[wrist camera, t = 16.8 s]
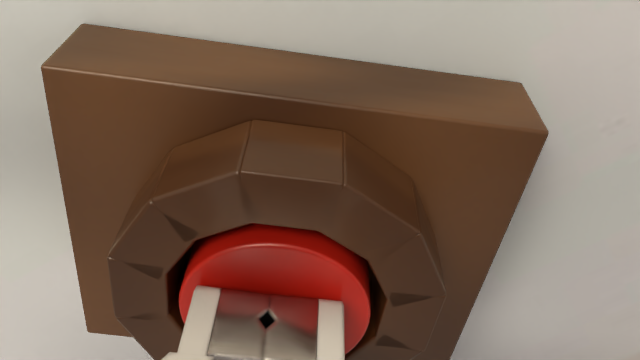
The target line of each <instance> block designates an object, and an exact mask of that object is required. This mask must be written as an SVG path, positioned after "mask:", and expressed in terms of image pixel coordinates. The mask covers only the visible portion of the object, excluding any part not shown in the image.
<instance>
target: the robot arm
mask: <svg viewBox="0 0 640 360" xmlns="http://www.w3.org/2000/svg"><path fill="white" fill-rule="evenodd" d="M161 360H345V343H344V304H343V302H342V301H335V300H325V299H317V298H309V297H299V296H288V295H278V294H263V293H256V292H248V291H241V290H233V289H226V288H216V287H208V286H201V285H197V286H196V288H195V290H194V292H193V296H192V300H191V303H190V307H189V311H188V314H187V318H186V322H185V325H184V329H183V333H182V336H181V340H180V344H179V348H178V351H177V353H176V352H169V353H168V354H167V355H166V356H165V357H164V358H162V359H161Z"/></svg>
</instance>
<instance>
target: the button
mask: <svg viewBox="0 0 640 360" xmlns="http://www.w3.org/2000/svg"><path fill="white" fill-rule="evenodd" d="M197 285H201V286H208V287H216V288H226V289H233V290H241V291H248V292H256V293H263V294H278V295H288V296H299V297H309V298H317V299H325V300H335V301H342V302H343V304H344V343H345V354H347V353H348V352H349V351H351V350H352V349H353V348H354V347H355V346H356V345H357V344H358V343H359V342H360V340H361V339H362V337H363V336H364V334H365V332H366V330H367V328H368V325H369V322H370V316H371V303H370V285H369V267H368V261H367V260H366V259H364V258H362V257H361V256H359V255H357V254H356V253H354V252H352V251H351V250H349V249H347V248H346V247H344V246H342V245H341V244H339V243H337V242H335V241H334V240H332V239H330V238H329V237H327V236H325V235H324V234H322V233H320V232H319V231H313V230H305V229H296V228H288V227H279V226H271V225H262V224H254V223H251V224H248V225H245V226H241V227H238V228H235V229H231V230H228V231H225V232H222V233H218V234H215V235H212V236H208V237H205V238H202V239H199V240H196V241H195V242H194V245H193V249H192V252H191V255H190V259H189V262H188V265H187V269H186V272H185V275H184V279H183V282H182V285H181V289H180V292H179V310H180V314H181V317H182V320H183V322H184V324H185V322H186V318H187V314H188V311H189V307H190V303H191V300H192V296H193V292H194V290H195V288H196V286H197Z"/></svg>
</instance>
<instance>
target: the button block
mask: <svg viewBox="0 0 640 360" xmlns="http://www.w3.org/2000/svg"><path fill="white" fill-rule="evenodd" d="M41 70H42V76H43V82H44V87H45V93H46V99H47V104H48V110H49V116H50V121H51V127H52V133H53V138H54V144H55V150H56V155H57V161H58V167H59V173H60V178H61V184H62V190H63V195H64V201H65V207H66V212H67V218H68V224H69V229H70V235H71V241H72V246H73V252H74V258H75V263H76V269H77V275H78V280H79V286H80V292H81V297H82V303H83V309H84V314H85V320H86V326H87V331H88V332H90V333H99V334H108V335H118V336H127V337H134V338H135V340H136V341H137V342H138V343H139V344H140V345H141V346H142V347H143V348H144V349H145V350H146V351H147V352H148V353H149V355H150V356H151V357H152V358H153V359H154V360H161V359H162V358H164V357H165V356H166V355H167V354H168V353H169V352H176V353H177V351H178V348H179V344H180V340H181V336H182V333H183V329H184V325H185V324H184V322H183V320H182V317H181V314H180V310H179V292H180V289H181V285H182V282H183V279H184V275H185V272H186V269H187V265H188V262H189V259H190V255H191V252H192V249H193V245H194V242H195V241H196V240H199V239H202V238H205V237H208V236H212V235H215V234H218V233H222V232H225V231H228V230H231V229H235V228H238V227H241V226H245V225H248V224H251V223H254V224H262V225H271V226H279V227H288V228H296V229H305V230H313V231H319V232H320V233H322V234H324V235H325V236H327V237H329V238H330V239H332V240H334V241H335V242H337V243H339V244H341V245H342V246H344V247H346V248H347V249H349V250H351V251H352V252H354V253H356V254H357V255H359V256H361V257H362V258H364V259H366V260H367V261H368V267H369V285H370V303H371V316H370V322H369V325H368V328H367V330H366V332H365V334H364V336H363V337H362V339H361V340H360V342H359V343H358V344H357V345H356V346H355V347H354V348H353V349H352V350H351V351H349V352H348V353H347V354H345V360H450V357H451V355H452V353H453V350H454V348H455V346H456V344H457V341H458V339H459V337H460V335H461V332H462V330H463V328H464V325H465V323H466V321H467V319H468V316H469V314H470V312H471V309H472V307H473V305H474V303H475V300H476V298H477V296H478V294H479V291H480V289H481V287H482V284H483V282H484V280H485V278H486V275H487V273H488V271H489V268H490V266H491V264H492V262H493V259H494V257H495V255H496V253H497V250H498V248H499V246H500V243H501V241H502V239H503V237H504V234H505V232H506V230H507V227H508V225H509V223H510V221H511V218H512V216H513V214H514V212H515V209H516V207H517V205H518V202H519V200H520V198H521V196H522V193H523V191H524V189H525V186H526V184H527V182H528V180H529V177H530V175H531V173H532V171H533V168H534V166H535V164H536V161H537V159H538V157H539V155H540V152H541V150H542V148H543V146H544V143H545V141H546V139H547V136H548V130H547V128H546V126H545V124H544V123H543V121H542V119H541V117H540V116H539V114H538V112H537V110H536V108H535V107H534V105H533V103H532V101H531V99H530V98H529V96H528V94H527V92H526V90H525V89H524V87H523V85H522V84H521V83H517V82H510V81H502V80H495V79H487V78H480V77H473V76H465V75H458V74H451V73H443V72H436V71H428V70H421V69H414V68H406V67H399V66H392V65H384V64H377V63H369V62H362V61H355V60H347V59H340V58H332V57H325V56H318V55H310V54H303V53H296V52H288V51H281V50H273V49H266V48H259V47H251V46H244V45H237V44H229V43H222V42H214V41H207V40H200V39H192V38H185V37H178V36H170V35H163V34H155V33H148V32H141V31H133V30H126V29H119V28H111V27H104V26H96V25H89V24H81V25H80V26H79V27H78V28H77V29H76V30H75V32H74V33H73V34H72V35H71V36H70V37H69V38H68V39H67V40H66V41H65V42H64V43H63V44H62V45H61V46H60V47H59V48H58V49H57V50H56V51H55V52H54V53H53V54H52V55H51V56H50V57H49V58H48V59H47V60H46V61H45V62H44V63H43V64H42V66H41Z"/></svg>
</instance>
